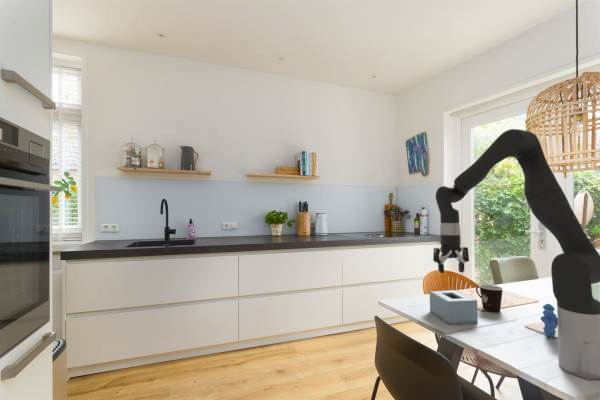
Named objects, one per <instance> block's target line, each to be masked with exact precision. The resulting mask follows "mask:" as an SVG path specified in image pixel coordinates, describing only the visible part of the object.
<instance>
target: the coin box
mask: <svg viewBox="0 0 600 400" xmlns="http://www.w3.org/2000/svg"><path fill="white" fill-rule="evenodd" d="M429 312H430V313H431V314H432V315H434V316H436V317H437V318H439V319H440V320H441V321H443V322H444V321H445V322H444V323H445V324H447V323H448V325H449V324H453V325H464V324H463V323H472V324H478V323H479V322H478V321H479V320H478V318H479V316H478V300H477V299H475V298H473V297H472V296H469V295H466V294H464V293H463V292H460V291H458V290H457V289H456V290H455V289H454V290H453V289H449V290H434V291H433V290H429Z"/></svg>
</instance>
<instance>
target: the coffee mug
mask: <svg viewBox="0 0 600 400" xmlns="http://www.w3.org/2000/svg"><path fill="white" fill-rule="evenodd" d="M478 289H479V291H478ZM475 291H476V295H478V296H479V298H480V299H481V305H482V309H485V310H487V311H486V312H488V313H492V314H493V313H496V314H499V313H500V312H501V307H502V300H503V299H502V298H503V291H504V290H503V287H502V286H498V285H495V284H494V285H493V284H480V285H478V286H476V287H475ZM479 292H480V293H479ZM485 310H484V311H485Z"/></svg>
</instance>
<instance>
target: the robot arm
mask: <svg viewBox="0 0 600 400" xmlns="http://www.w3.org/2000/svg"><path fill="white" fill-rule="evenodd" d="M507 158H515V160H516V161H517V163H518V164H519V166H520V168H521V170H522V172H523V176H524V185H523V186H524V189H523V192H524V197H525V200H526V202H527V204H528V206H529V208H530V210H531V213H532V215H533V216H534V217H535V218H536V220H537V221H539V223H540V224H541V225H543V226H544V227H545V228H546V229H547V230H548V231H549V233H551V234H552V235H553V236H554V238H555V239H556V240H557V243H558V244H559V246H560V248H561V250H562V253H559V254H557V255H556V256H555V257H554V258H553V260H552V262H551V265H550V266H551V283H552V284H551V285H552V293H553V296H554V298H555V299H556V310H557V311H556V312H557V314H556V317H557V321H558V326H557V348H558V349H557V350H558V351H557V352H558V365H559V367H560V368H561V369H562V370H564V371H565V372H568V373H570V374H572V375H574V376H578V377H580V378H583V379H584V380H585V379H586V380H587V381H590V380H591V381H592V380H600V300H598V299H596V298H594V295H593V291H592V290H593V288H592V287H593V286H592V284H593V285H594V284H599V283H600V253H599V252H598V250H597V249H596V248H595V246H594V245H593V243H592V242H591V241H590V239H589V237H588V236H587V234H586V232H585V231H584V229H583V228H582V226H581V223H580V221H579V219H578V218H577V216H576V214H575V212H574V210H573V209H572V207H571V204H570V202H569V200H568V198H567V196H566V195H565V193H564V190H563V189H562V187H561V186H560V183H559V182H558V180H557V178H556V176H555V174H554V172H553V170H552V169H551V167H550V165H549V164H548V161H547V158H546V156H545V153H544V151H543V148H542V145H541V142H540V140H539V138H538V136H537V135H536V134H535V133H534V132H531V131H530V130H525V129H518V128H512V129H511V128H510V129H507V130H505V131H503V132H502V133H501V134H500V135H499V136H498V137H497V138H496V139H495V140H494V141H493V142H492V143H491V144H490V145H489V147H488V148H487V149H486V150H485V151H483V153H482V154H481V156H479V157H478V158H477V160H476V161H475V162H474V163H473V164H471V165H470V166H468V168H467V169H465V170H464V171H463V172H462V173H460V174H459V175H457V176H456V177H455V179H454V182H453V183H454V184H453V185H444V186H443V185H442V186H439V187H438V188H437V189H436V192H435V200H436V204H437V209H438V211H439V214H440V215H439V216H440V227H439V235H440V236H439V237H440V247H433V259H432V261H433V262H434V263H436V264H437V266H438V268H437V269H438V272H439V273H440V274H444V273H445V264H444V263H445V262H446V261H447V260H448V259H456V260H457V261H458V272H460V273H464V271H465V263H467V262H470V257H469V256H470V255H469V248H468V247H467V246H462V247H461V244H462V241H461V238H462V237H461V226H460V225H461V224H460V213H459V210H458V209H457V208H454V207H453V204H454V203H458V202H459V201H461V200H463V198H464V197H465V196H466V195H468V193H469V191H470V190H471V191H472V189H474V188H475V187H476V186H478V185H479V184H480V183H482V182H483V181H484V180H485V179H486V178H487V176H488V175H489V173H490V171H491V170H492V169H493V167H494V166H495V165H496V166H497V164H498V163H500V162H502V161H504V160H505V159H507ZM440 253H441V254H440ZM460 253H461V254H460Z"/></svg>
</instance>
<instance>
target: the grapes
mask: <svg viewBox="0 0 600 400" xmlns="http://www.w3.org/2000/svg"><path fill="white" fill-rule="evenodd" d="M542 309H543V311H542V314H543V316H541V317H540V320H541V321H542V323H544V324H543V325H544V326H543V327H542V329H543V333H544V335H545V336H546V337H547V338H553V337H555V335H556V333H557V331H556V329H558V321H557V314H556V313H555V310H556V308H554V305H552V304H550V303H546V304H544V305H543V306H542Z"/></svg>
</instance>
